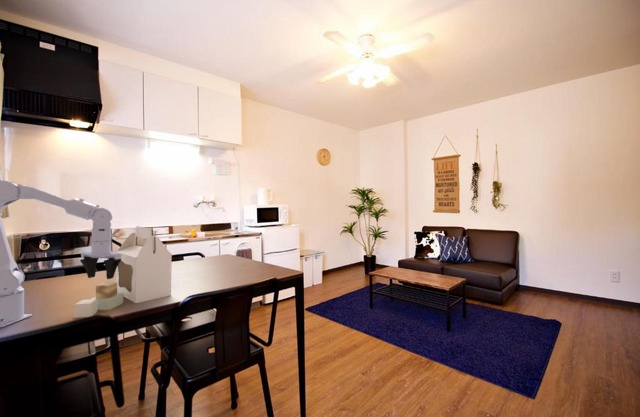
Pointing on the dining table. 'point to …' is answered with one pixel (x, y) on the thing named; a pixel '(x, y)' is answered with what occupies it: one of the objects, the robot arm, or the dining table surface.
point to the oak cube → (106, 290)
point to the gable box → (144, 267)
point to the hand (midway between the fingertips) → (100, 277)
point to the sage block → (109, 302)
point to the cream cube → (86, 308)
